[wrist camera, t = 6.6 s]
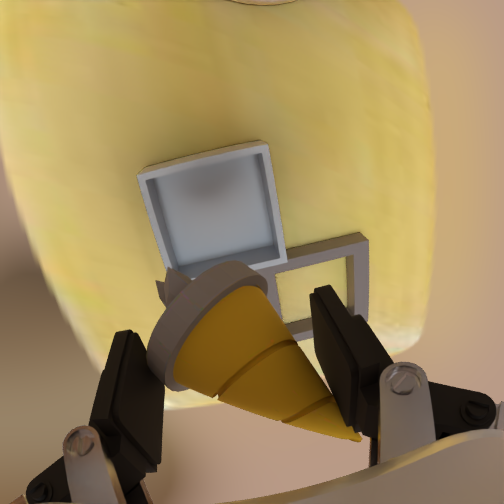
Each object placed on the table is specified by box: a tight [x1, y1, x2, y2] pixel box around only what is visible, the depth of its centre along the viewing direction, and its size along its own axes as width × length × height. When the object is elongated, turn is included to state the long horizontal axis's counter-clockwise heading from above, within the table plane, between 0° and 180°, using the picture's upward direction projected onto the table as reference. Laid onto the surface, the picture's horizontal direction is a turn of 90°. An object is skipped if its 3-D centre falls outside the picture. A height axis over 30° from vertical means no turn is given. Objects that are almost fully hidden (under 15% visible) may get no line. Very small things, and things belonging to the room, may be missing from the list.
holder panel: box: [254, 232, 369, 342], centre depth 29 cm, size 9×10×2 cm
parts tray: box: [136, 140, 288, 280], centre depth 24 cm, size 9×9×3 cm
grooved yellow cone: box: [146, 260, 362, 442], centre depth 11 cm, size 5×5×10 cm
